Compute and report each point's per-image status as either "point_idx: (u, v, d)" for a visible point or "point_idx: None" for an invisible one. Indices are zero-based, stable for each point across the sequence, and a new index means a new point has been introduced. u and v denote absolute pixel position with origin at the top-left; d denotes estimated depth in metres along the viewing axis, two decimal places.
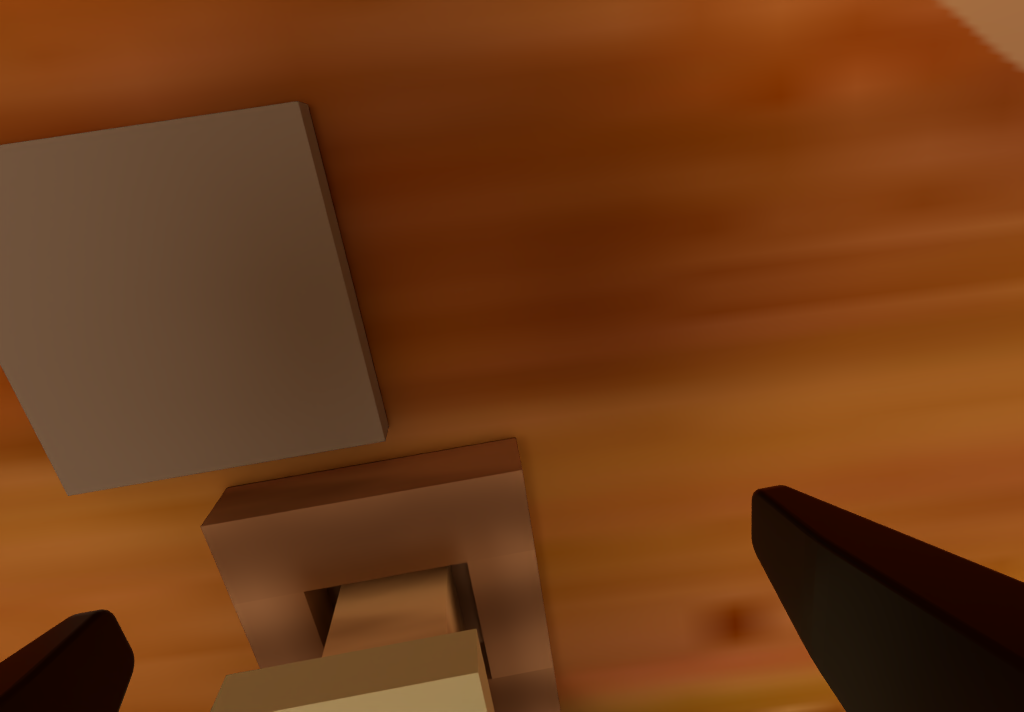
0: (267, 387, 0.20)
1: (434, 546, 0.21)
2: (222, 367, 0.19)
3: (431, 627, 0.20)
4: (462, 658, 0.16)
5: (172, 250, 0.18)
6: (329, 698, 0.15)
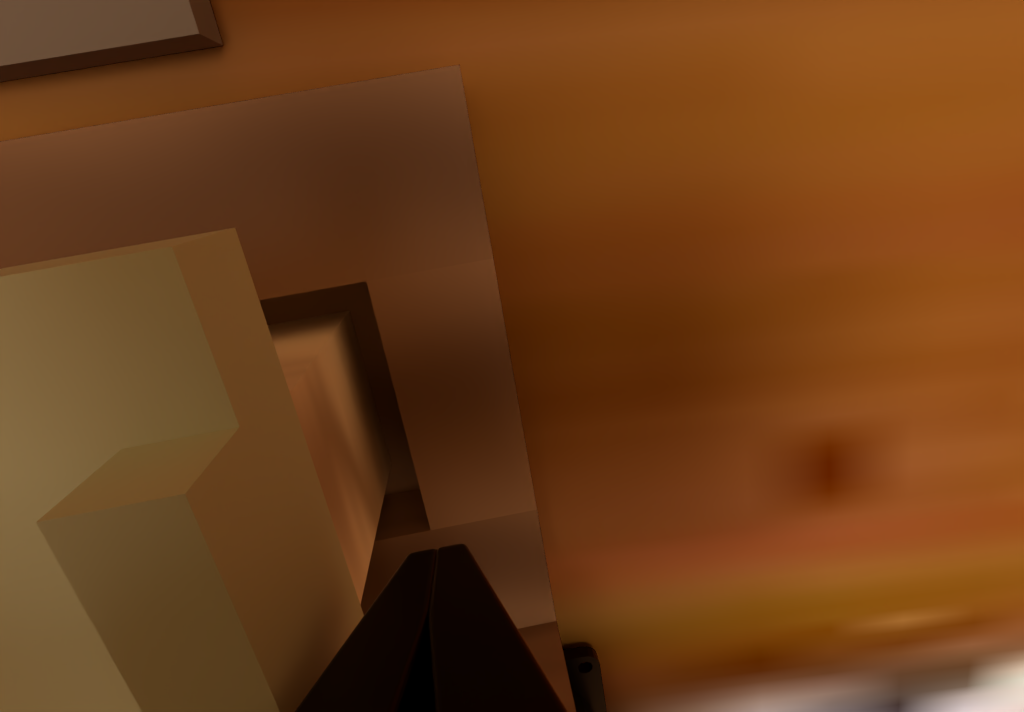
0: None
1: (300, 242, 0.11)
2: None
3: None
4: (154, 246, 0.05)
5: None
6: None
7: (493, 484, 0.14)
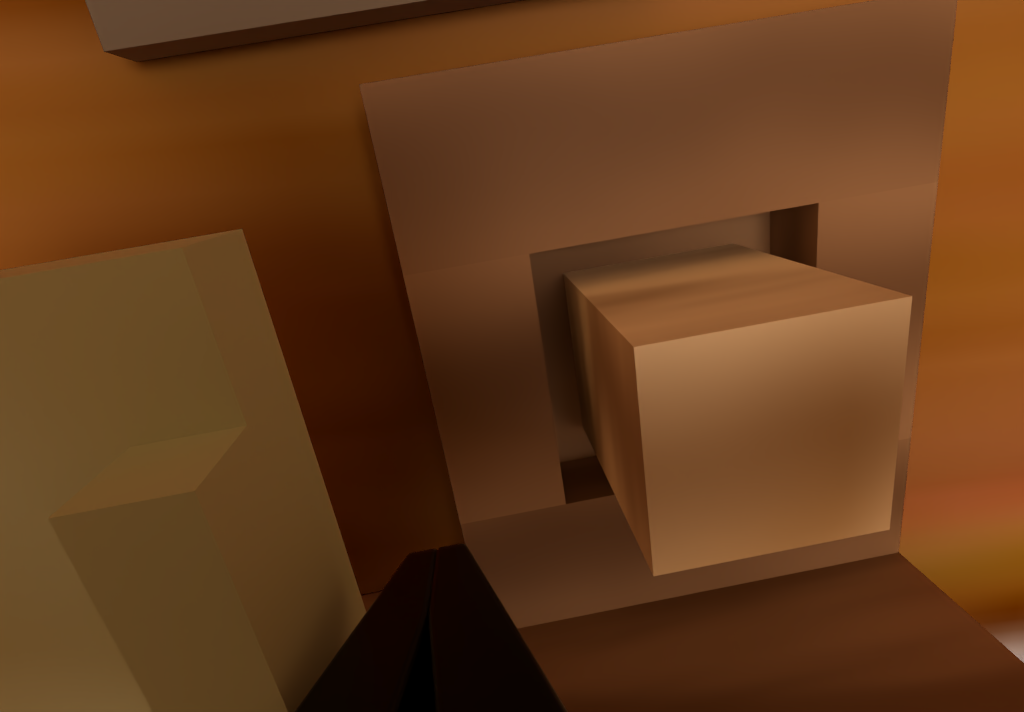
0: None
1: (770, 162, 0.12)
2: None
3: (802, 276, 0.11)
4: (164, 247, 0.06)
5: None
6: None
7: None
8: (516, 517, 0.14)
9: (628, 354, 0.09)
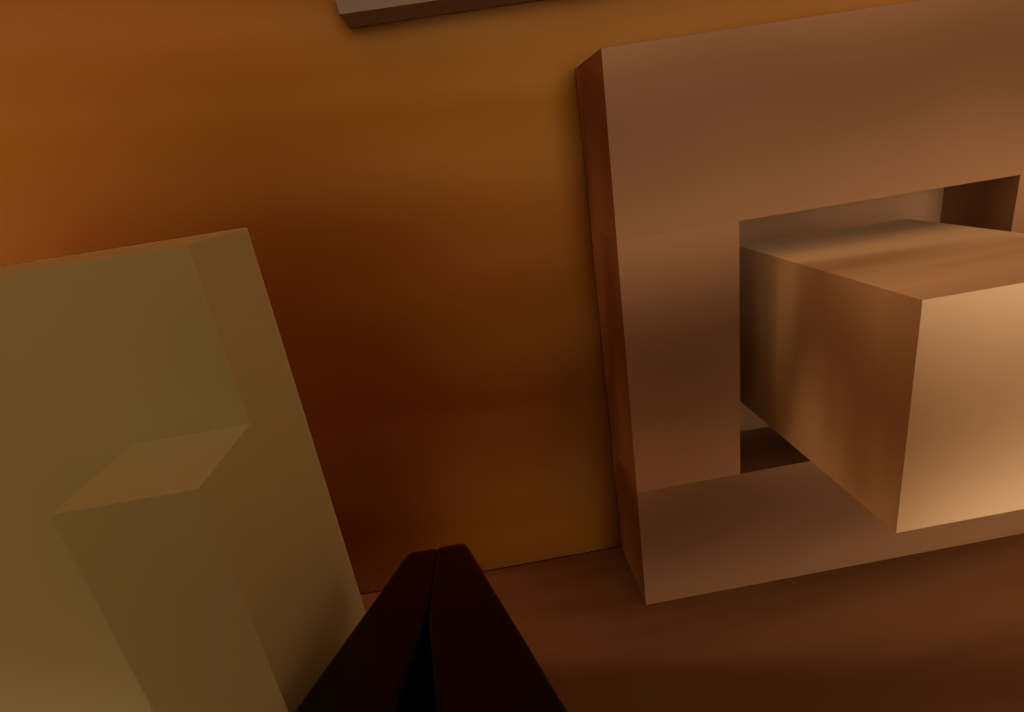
0: None
1: (979, 133, 0.12)
2: None
3: None
4: (169, 244, 0.06)
5: None
6: None
7: None
8: (691, 486, 0.14)
9: (902, 309, 0.09)
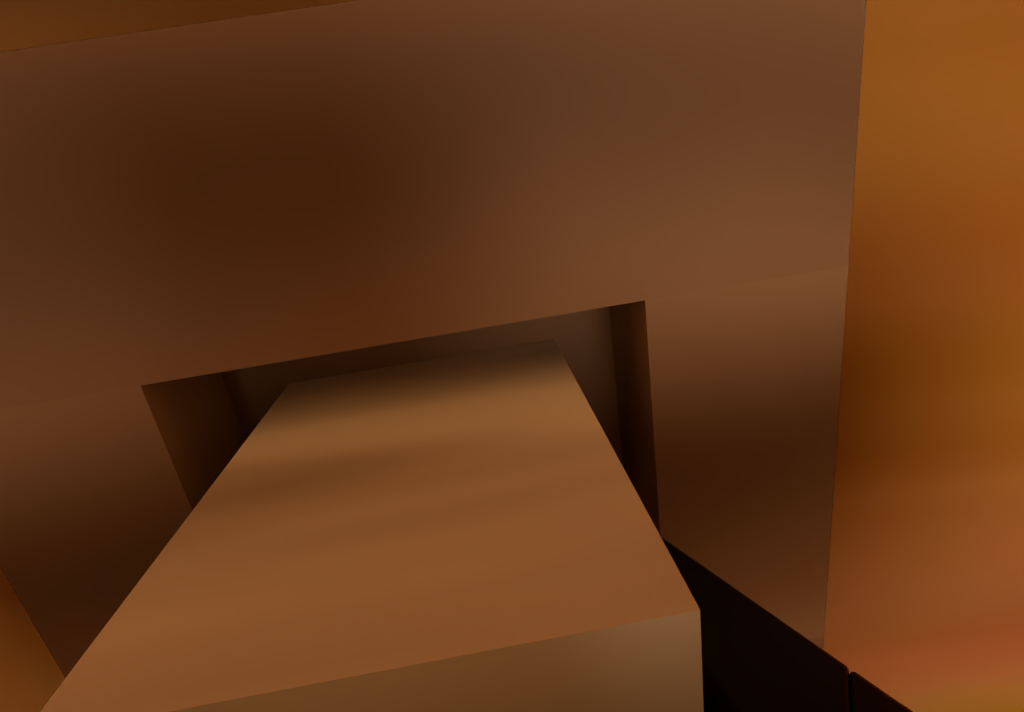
0: None
1: (552, 235, 0.07)
2: None
3: (564, 465, 0.06)
4: None
5: None
6: None
7: (770, 603, 0.09)
8: None
9: None
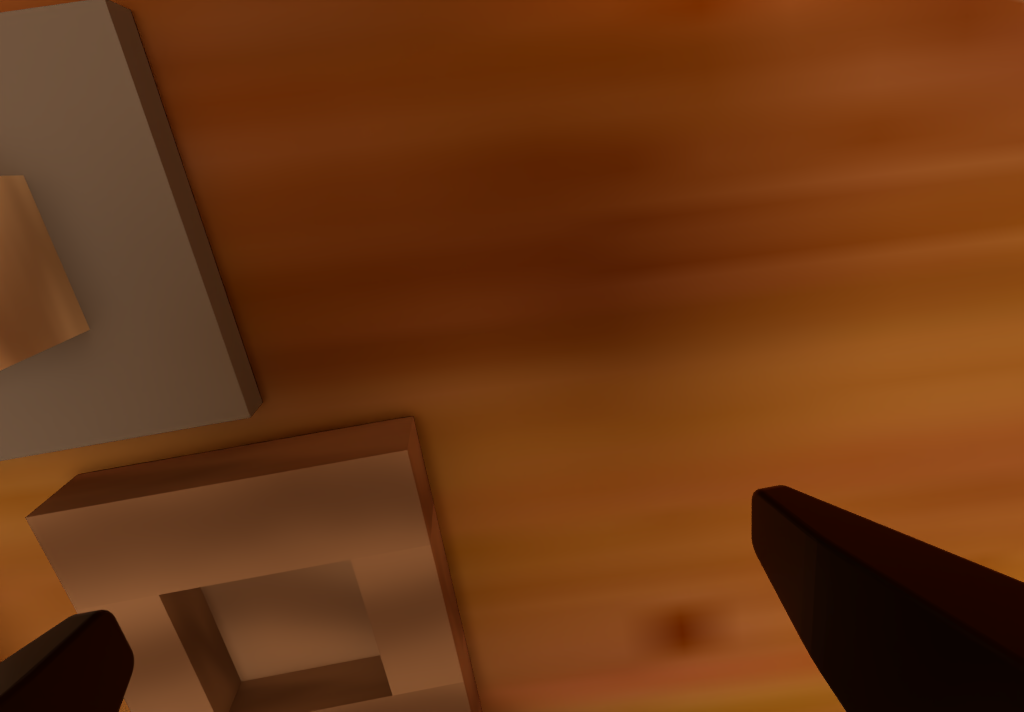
0: (102, 352, 0.17)
1: (310, 541, 0.18)
2: None
3: None
4: None
5: None
6: None
7: (434, 668, 0.21)
8: None
9: None
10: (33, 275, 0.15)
